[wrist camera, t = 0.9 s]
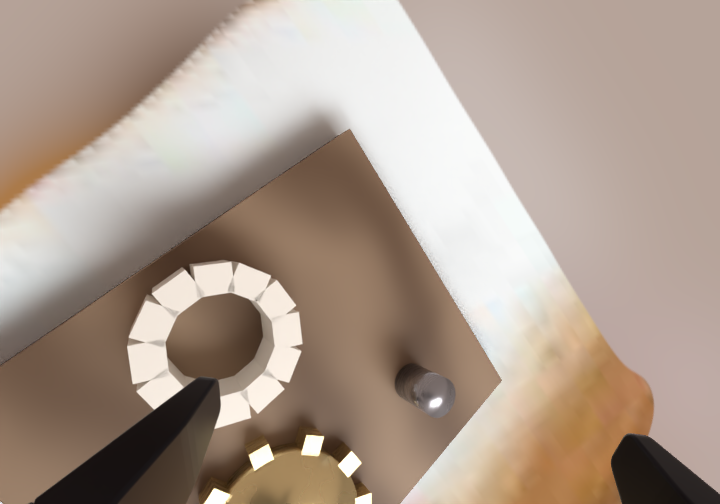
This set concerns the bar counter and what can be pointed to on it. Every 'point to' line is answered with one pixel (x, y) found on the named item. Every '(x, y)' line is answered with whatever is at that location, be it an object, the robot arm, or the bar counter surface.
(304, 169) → the gear board
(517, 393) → the bar counter surface
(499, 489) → the bar counter surface
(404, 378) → the steel peg
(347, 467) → the brass drive gear
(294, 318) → the ring gear
